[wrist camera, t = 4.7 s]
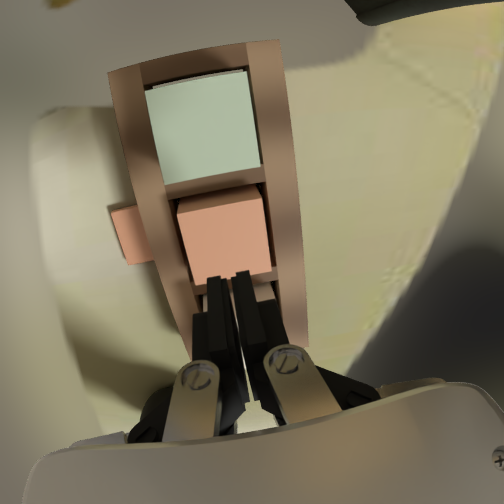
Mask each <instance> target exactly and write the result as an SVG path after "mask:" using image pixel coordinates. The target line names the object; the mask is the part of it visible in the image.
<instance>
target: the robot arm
mask: <svg viewBox="0 0 504 504" xmlns="http://www.w3.org/2000/svg"><path fill="white" fill-rule="evenodd" d="M231 283H232V290H233V297H234V303H235V310H236V317H237V322H236V318H235V313H234V309H233V304H232V300H231V296H230V291H229V287H228V282H227V278H223V279H221V276H220V275H219V276H214V277H208V278H207V311H206V312H200V313H194V314H193V317H192V362H190V363H187V364H186V365H184V366H183V367H182V368H181V369H180V370H179V371H178V373H177V376H176V379H175V383H174V388H173V392H172V394H171V395H170V396H168V397H167V398H166V399H165V400H164V401H163V402H162V403H161V404H159V405H158V406H157V407H156V408H155V409H154V410H153V411H151V412H150V413H149V414H148V415H147V416H146V417H145V418H143V419H142V420H141V421H140V422H139V423H138V424H136V425H135V426H134V427H133V428H132V430H131V431H130V432H129V433H124V432H123V431H121V432H117V433H113V434H109V435H104V436H100V437H95V438H91V439H85V440H80V441H77V442H75V443H73V444H72V445H71V446H70V447H69V448H64V449H60V450H58V451H54V452H51V453H49V454H47V455H45V456H43V457H42V458H40V459H39V460H38V461H37V462H36V463H35V465H34V466H33V468H32V470H31V472H30V474H29V477H28V480H27V483H26V486H25V490H24V494H23V499H22V504H504V412H503V411H502V410H501V408H500V407H499V406H498V405H497V403H496V402H495V401H494V400H493V399H492V398H491V396H489V394H487V393H486V392H485V391H484V390H483V389H481V388H480V387H478V386H476V385H473V384H470V383H461V382H460V383H459V382H451V383H447V382H445V381H444V380H443V379H440V378H426V379H420V380H414V381H407V382H401V383H394V384H386V385H382V387H381V388H377V389H374V388H373V387H371V386H369V385H367V384H364V383H362V382H359V381H356V380H353V379H350V378H348V377H345V376H342V375H340V374H337V373H334V372H332V371H329V370H326V369H324V368H321V367H319V366H316V365H314V363H313V361H312V360H311V358H310V356H309V355H308V353H307V352H306V351H305V350H304V349H303V348H301V347H300V346H297V345H293V344H290V343H289V340H288V337H287V333H286V330H285V327H284V324H283V321H282V318H281V315H280V312H279V308H278V305H277V302H276V300H275V298H274V299H269V300H264V301H259V302H257V301H256V296H255V292H254V288H253V284H252V280H251V276H250V271H249V270H245V271H240V272H236V276H234V277H231ZM237 324H238V326H237ZM238 330H239V331H238ZM241 348H242V349H241ZM242 353H243V355H242ZM243 357H244V361H245V365H246V369H247V373H248V377H249V381H250V385H251V389H252V393H253V397H254V401H257V400H260V403H261V407H262V409H264V410H266V411H268V412H269V413H271V414H273V416H274V420H275V422H276V425H277V427H274V428H268V429H263V430H258V431H252V432H246V433H240V434H237V428H238V424H237V419H238V418H239V417H240V415H241V414H242V413H243V412H244V411H246V409H245V403H246V402H250V399H249V393H248V387H247V380H246V374H245V368H244V362H243Z"/></svg>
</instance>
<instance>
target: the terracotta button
mask: <svg viewBox="0 0 504 504" xmlns="http://www.w3.org/2000/svg"><path fill="white" fill-rule="evenodd" d="M177 218H178V222H179V226H180V230H181V234H182V237H183V241H184V245H185V249H186V253H187V256H188V260H189V264H190V267H191V271H192V274H193V278H194V282H195V285H201V284H207V278H208V277H214V276H219V275H220V276H221V279H223V278H227V280H228V279H231V277H234V276H236V272H240V271H245V270H249V271H250V275H254V274H260V273H265V272H270V271H272V269H271V262H270V254H269V246H268V239H267V232H266V224H265V217H264V210H263V203H262V197H261V195H260V193H259V191H258V189H257V188H256V186H255V184H254V183H253V184H247V185H242V186H236V187H231V188H225V189H220V190H215V191H209V192H204V193H199V194H194V195H189V196H185V197H181V198H180V202H179V206H178V211H177Z"/></svg>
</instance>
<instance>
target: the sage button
mask: <svg viewBox="0 0 504 504" xmlns="http://www.w3.org/2000/svg"><path fill="white" fill-rule="evenodd" d="M145 96H146V101H147V106H148V111H149V116H150V121H151V126H152V131H153V136H154V140H155V145H156V149H157V154H158V158H159V163H160V167H161V172H162V176H163V180H164V184H165V185H168V184H172V183H177V182H182V181H186V180H191V179H196V178H201V177H206V176H211V175H217V174H222V173H227V172H233V171H238V170H244V169H250V168H256V167H261V166H260V159H259V152H258V145H257V138H256V131H255V124H254V117H253V111H252V104H251V97H250V91H249V84H248V78H247V71H245V72H238V73H231V74H225V75H219V76H213V77H207V78H201V79H196V80H191V81H187V82H182V83H177V84H172V85H168V86H164V87H160V88H155V89H151V90H148V91H145Z"/></svg>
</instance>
